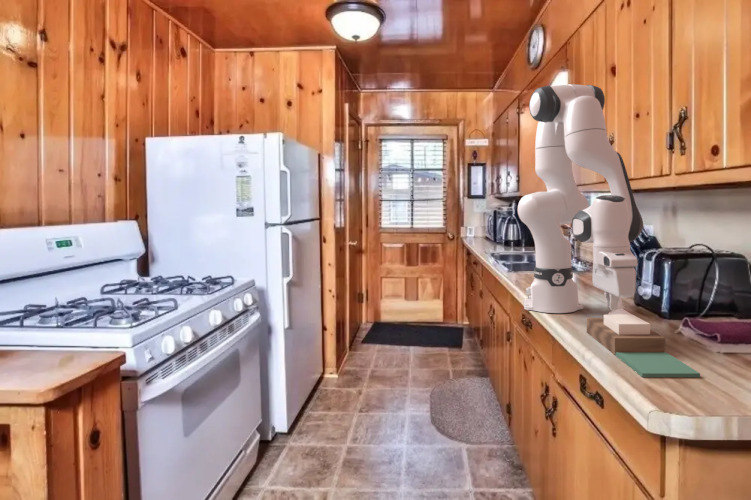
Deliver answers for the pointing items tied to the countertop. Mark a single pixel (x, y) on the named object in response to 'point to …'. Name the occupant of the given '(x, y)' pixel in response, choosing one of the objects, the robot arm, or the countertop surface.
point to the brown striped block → (624, 339)
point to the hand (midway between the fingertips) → (612, 308)
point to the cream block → (626, 324)
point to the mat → (656, 364)
